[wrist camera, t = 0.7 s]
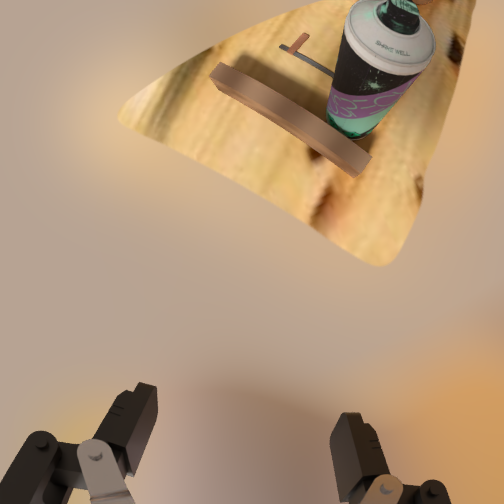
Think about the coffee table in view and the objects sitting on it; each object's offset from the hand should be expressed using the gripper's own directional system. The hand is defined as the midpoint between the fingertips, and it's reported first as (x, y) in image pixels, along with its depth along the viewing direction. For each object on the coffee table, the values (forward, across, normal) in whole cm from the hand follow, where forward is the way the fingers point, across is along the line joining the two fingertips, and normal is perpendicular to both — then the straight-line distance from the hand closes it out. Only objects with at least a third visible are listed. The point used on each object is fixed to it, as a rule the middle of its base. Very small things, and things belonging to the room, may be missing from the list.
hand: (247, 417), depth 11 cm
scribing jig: (+24, -3, -20) cm, 31 cm away
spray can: (+23, -7, -17) cm, 30 cm away
